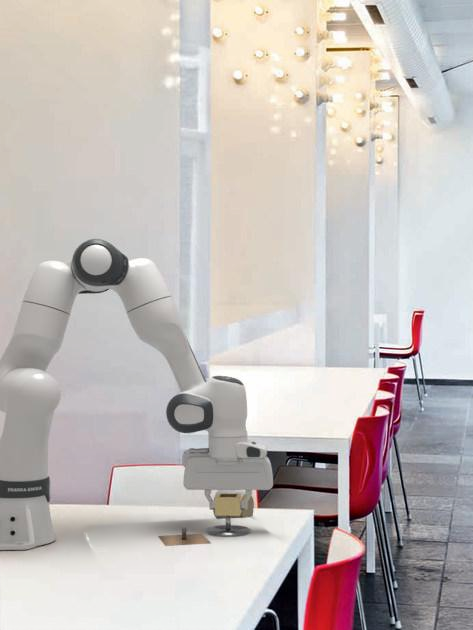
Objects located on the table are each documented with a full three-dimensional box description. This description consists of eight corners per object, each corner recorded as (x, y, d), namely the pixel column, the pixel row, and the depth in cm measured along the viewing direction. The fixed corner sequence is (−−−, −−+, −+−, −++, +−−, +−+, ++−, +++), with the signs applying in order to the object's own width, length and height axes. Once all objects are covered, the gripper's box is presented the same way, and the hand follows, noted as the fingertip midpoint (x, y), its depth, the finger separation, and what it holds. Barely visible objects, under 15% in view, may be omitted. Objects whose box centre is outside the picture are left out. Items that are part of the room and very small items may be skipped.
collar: (215, 515, 247) (214, 497, 247) (217, 510, 253) (217, 493, 253) (240, 515, 247) (239, 497, 247) (241, 510, 253) (241, 493, 252)
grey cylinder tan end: (242, 524, 265) (242, 492, 265) (211, 521, 268) (212, 489, 268) (261, 517, 274) (261, 486, 274) (231, 514, 278) (231, 484, 278)
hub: (211, 544, 244) (210, 516, 244) (202, 535, 253) (201, 507, 253) (255, 542, 246) (255, 513, 246) (244, 532, 256) (244, 505, 256)
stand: (165, 552, 236) (165, 534, 236) (157, 542, 246) (157, 524, 246) (211, 550, 239) (211, 531, 238) (202, 540, 248) (202, 522, 248)
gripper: (180, 450, 247) (181, 511, 248) (272, 450, 246) (272, 512, 246) (183, 446, 254) (184, 506, 254) (273, 446, 252) (273, 506, 252)
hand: (228, 509), depth 250 cm, fingers closed on collar, 6 cm apart
